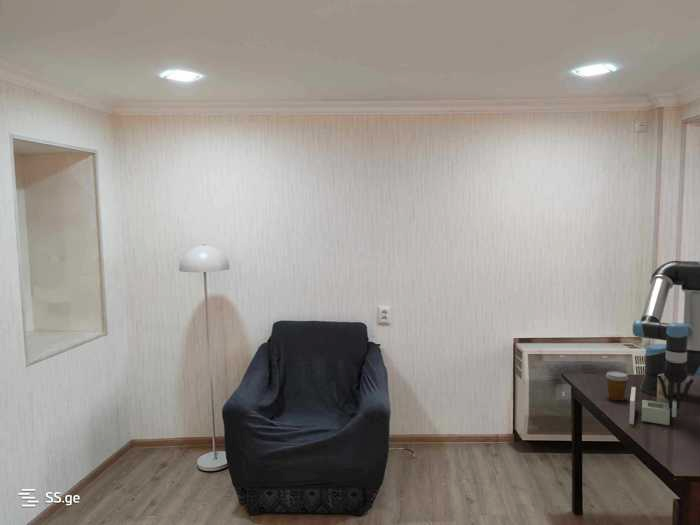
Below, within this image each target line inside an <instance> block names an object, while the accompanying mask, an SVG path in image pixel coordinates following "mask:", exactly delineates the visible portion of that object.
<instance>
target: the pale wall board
mask: <svg viewBox="0 0 700 525" xmlns="http://www.w3.org/2000/svg"><path fill="white" fill-rule="evenodd" d="M636 389H637V388H636V386H631V391H630V399H629V418H628V419H629V422H628V423H629V425H634V424H635V423H634V422H635V412H636V392H637V390H636Z"/></svg>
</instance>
